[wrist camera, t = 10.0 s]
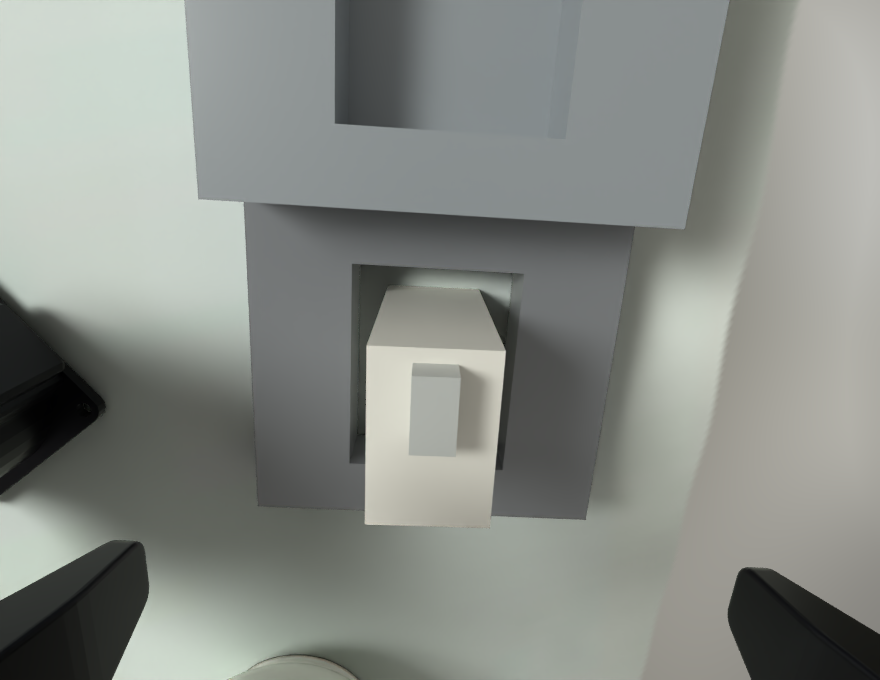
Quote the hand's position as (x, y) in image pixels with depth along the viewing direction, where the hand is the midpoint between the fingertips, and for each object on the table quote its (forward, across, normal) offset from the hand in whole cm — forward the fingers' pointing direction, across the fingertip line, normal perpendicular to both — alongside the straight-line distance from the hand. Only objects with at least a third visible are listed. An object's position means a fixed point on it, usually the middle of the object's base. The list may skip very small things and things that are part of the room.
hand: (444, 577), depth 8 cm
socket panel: (+11, 0, -5) cm, 12 cm away
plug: (+11, 0, 0) cm, 11 cm away
